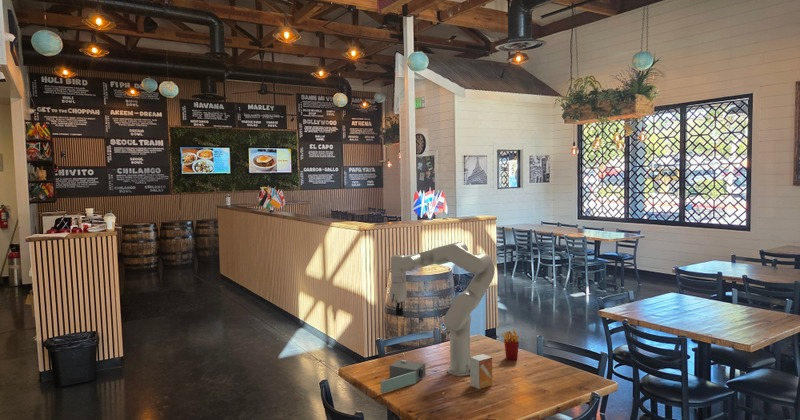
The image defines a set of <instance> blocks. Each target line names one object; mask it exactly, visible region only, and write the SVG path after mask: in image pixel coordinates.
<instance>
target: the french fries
mask: <svg viewBox="0 0 800 420" xmlns="http://www.w3.org/2000/svg"><path fill="white" fill-rule="evenodd" d="M501 336H502V337H503V343H504V353H505V360H506V361H508V362H517V361H518V355H519V345H520V342H519V341H518V340H519V338H520V336H519V335H517V332H516V330H515V329H513V330H512V331H511V330H509V331H506V332H504V333H502V334H501Z"/></svg>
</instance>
